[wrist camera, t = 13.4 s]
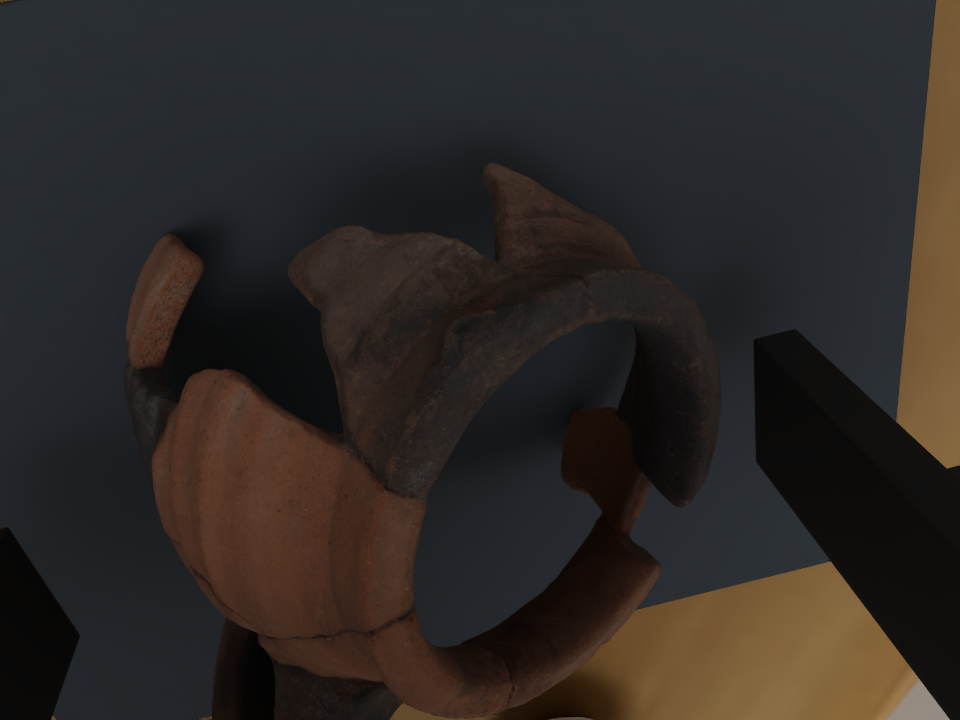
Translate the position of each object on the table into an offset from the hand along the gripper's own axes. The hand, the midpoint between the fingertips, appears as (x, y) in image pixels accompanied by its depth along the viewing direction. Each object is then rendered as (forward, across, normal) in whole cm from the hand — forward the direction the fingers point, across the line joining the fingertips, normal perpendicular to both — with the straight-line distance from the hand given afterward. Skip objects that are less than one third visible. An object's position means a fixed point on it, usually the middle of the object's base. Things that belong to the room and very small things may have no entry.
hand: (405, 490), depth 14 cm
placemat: (+4, 0, 0) cm, 4 cm away
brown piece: (+3, 0, 0) cm, 3 cm away
